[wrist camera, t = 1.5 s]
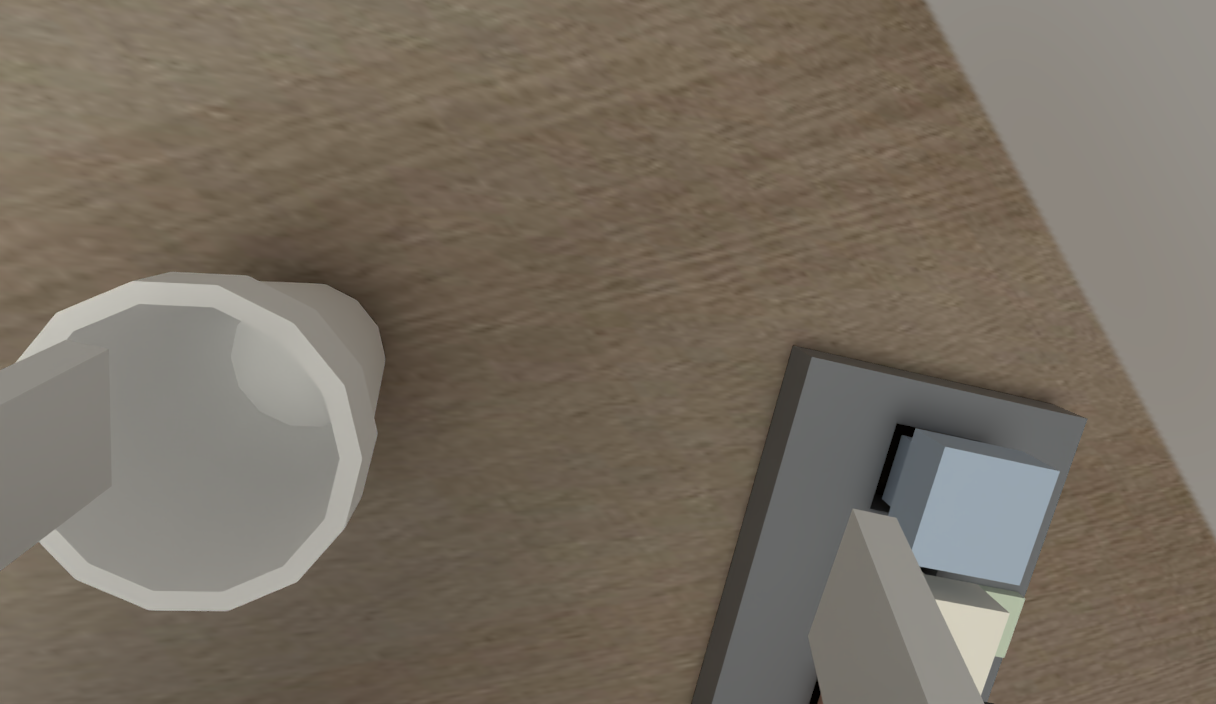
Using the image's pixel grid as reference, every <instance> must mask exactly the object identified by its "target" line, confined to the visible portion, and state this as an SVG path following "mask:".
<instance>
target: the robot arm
mask: <svg viewBox="0 0 1216 704" xmlns="http://www.w3.org/2000/svg"><path fill="white" fill-rule="evenodd" d="M111 486H112V471H111V424H110V377H109V349H107V348H102V347H98V346H93V345H88V344H84V343H79V342H74V341H70V340H64V341H62V342H60V343H58V344H55V345H53V346H51V347H49V348H47V349H45V350H43V351H40V352H38V353H36V354H34V355H32V356H30V357H28V358H25V359H23V360H21V361H19V362H17V363H15V364H12V365H10V366H8V367H6V368H4V369H2V370H0V571H1V570H2V569H4V568H5V567H6V566H7V565H9V564H10V563H11V562H13V561H14V560H15V559H17V558H18V557H19V556H21V555H22V554H23V553H25V552H26V551H27V550H28V549H30V548H31V547H32V546H34V545H35V544H36V543H38V542H39V541H40V540H42V539H43V538H44V537H46V536H47V535H48V534H49V533H51V532H52V531H53V530H55V529H56V528H57V527H59V526H60V525H61V524H63V523H64V522H65V521H67V520H68V519H69V518H70V517H72V516H73V515H74V514H76V513H77V512H78V511H80V510H81V509H82V508H84V507H85V506H86V505H88V504H89V503H90V502H91V501H93V500H94V499H95V498H97V497H98V496H99V495H101V494H102V493H103V492H105V491H106V490H107V489H109V488H110V487H111ZM808 638H809V643H810V647H811V652H812V656H813V661H814V665H815V669H816V674H817V678H818V683H819V687H820V692H821V696H822V701H823V704H993V703H988V702H983V700H982V697H981V695H980V693H979V691H978V689H977V687H976V685H975V683H974V681H973V678H972V676H971V674H970V672H969V670H968V668H967V666H966V664H965V662H964V659H963V657H962V655H961V653H960V651H959V649H958V647H957V645H956V643H955V640H954V638H953V636H952V634H951V632H950V630H949V628H948V626H947V624H946V621H945V619H944V617H943V615H942V613H941V611H940V609H939V607H938V605H937V602H936V600H935V598H934V596H933V594H932V592H931V590H930V588H929V586H928V583H927V581H926V579H925V577H924V575H923V573H922V571H921V569H920V567H919V564H918V562H917V560H916V558H915V556H914V554H913V552H912V550H911V548H910V545H909V543H908V541H907V539H906V537H905V535H904V533H903V531H902V529H901V526H900V524H899V522H898V520H897V518H895V517H890V516H886V515H881V514H876V513H872V512H867V511H862V510H858V509H852V512H851V515H850V518H849V520H848V523H847V526H846V529H845V532H844V535H843V538H842V540H841V543H840V546H839V549H838V552H837V555H836V558H835V560H834V563H833V566H832V569H831V572H830V575H829V578H828V580H827V583H826V586H825V589H824V592H823V595H822V598H821V600H820V603H819V606H818V609H817V612H816V615H815V618H814V621H813V623H812V626H811V629H810V632H809V635H808Z"/></svg>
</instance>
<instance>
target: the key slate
mask: <svg viewBox="0 0 1216 704" xmlns="http://www.w3.org/2000/svg"><path fill="white" fill-rule="evenodd" d="M1059 473H1060V471H1058V470H1057V469H1055V468H1053V467H1051V466H1049V465H1047V464H1045V463H1044V462H1042V461H1040V460H1038V459H1036V458H1034V457H1033V456H1031V455H1029V454H1027V453H1025V452H1023V451H1019V450H1015V449H1010V448H1005V447H1001V446H996V445H991V444H987V443H982V442H978V441H973V440H968V439H964V438H959V437H954V436H950V435H945V434H941V433H936V432H931V431H927V430H922V429H917V428H915V431H914V434H913V437H909V436H904V435H902V436H901V439H900V442H899V446H898V449H897V452H896V455H895V458H894V462H893V465H892V468H891V471H890V474H889V477H888V481H887V484H886V487H885V490H884V493H883V497H882V500H884V501H885V502H886V503H887V504H888V505H889V506H890V510H889V513H888V516H890V517H895V518H897V520H898V522H899V524H900V526H901V529H902V531H903V533H904V535H905V537H906V539H907V541H908V543H909V545H910V548H911V550H912V552H913V554H914V556H915V558H916V560H917V562H918V564H919V566H920V567H925V568H930V569H936V570H941V571H946V572H951V573H956V574H962V575H967V576H972V577H977V578H983V579H988V580H993V581H998V582H1004V583H1009V584H1014V585H1019V586H1020V583H1021V580H1022V578H1023V575H1024V572H1025V569H1026V566H1027V563H1028V561H1029V558H1030V555H1031V552H1032V549H1033V546H1034V544H1035V541H1036V538H1037V535H1038V532H1039V529H1040V526H1041V524H1042V521H1043V518H1044V515H1045V512H1046V509H1047V507H1048V504H1049V501H1050V498H1051V495H1052V492H1053V490H1054V487H1055V484H1056V481H1057V478H1058V475H1059Z"/></svg>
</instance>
